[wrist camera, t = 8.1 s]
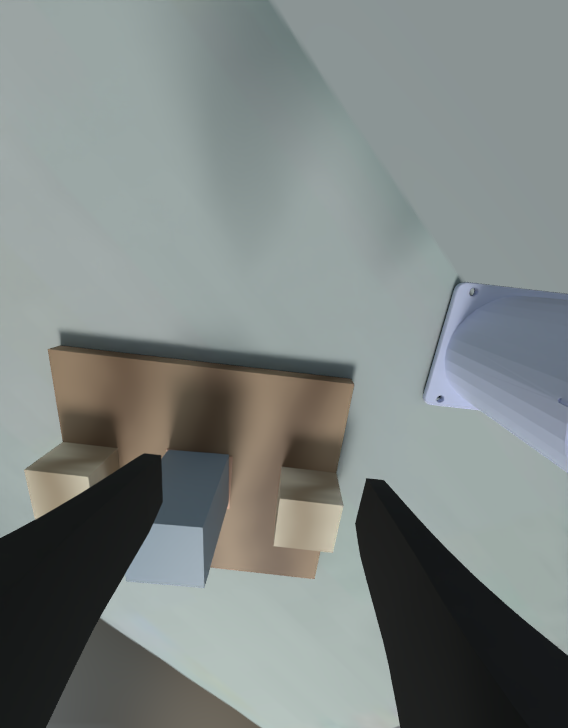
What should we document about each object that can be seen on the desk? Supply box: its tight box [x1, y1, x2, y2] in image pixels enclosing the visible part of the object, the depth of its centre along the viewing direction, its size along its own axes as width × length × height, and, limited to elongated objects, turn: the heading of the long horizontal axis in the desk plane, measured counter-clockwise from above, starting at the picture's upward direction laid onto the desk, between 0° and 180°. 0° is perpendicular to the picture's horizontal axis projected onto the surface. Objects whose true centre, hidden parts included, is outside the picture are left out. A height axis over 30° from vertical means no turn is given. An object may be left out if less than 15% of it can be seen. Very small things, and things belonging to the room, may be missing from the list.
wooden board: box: [24, 346, 354, 579], centre depth 20 cm, size 20×18×4 cm
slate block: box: [125, 450, 229, 588], centre depth 17 cm, size 4×4×6 cm
